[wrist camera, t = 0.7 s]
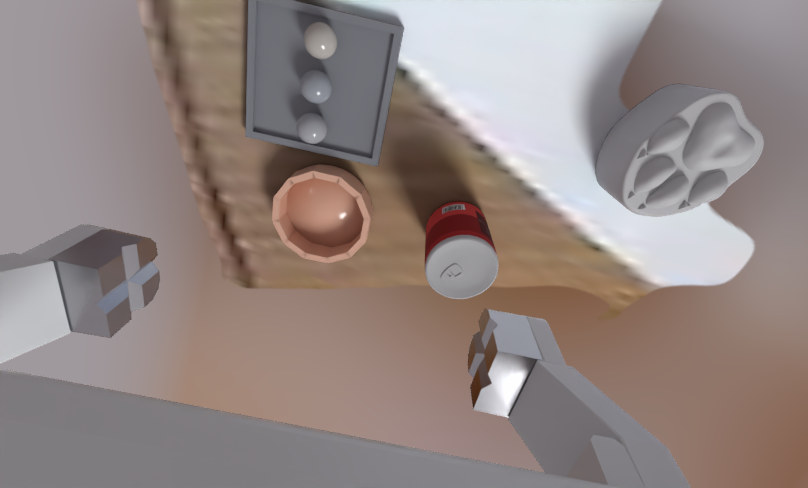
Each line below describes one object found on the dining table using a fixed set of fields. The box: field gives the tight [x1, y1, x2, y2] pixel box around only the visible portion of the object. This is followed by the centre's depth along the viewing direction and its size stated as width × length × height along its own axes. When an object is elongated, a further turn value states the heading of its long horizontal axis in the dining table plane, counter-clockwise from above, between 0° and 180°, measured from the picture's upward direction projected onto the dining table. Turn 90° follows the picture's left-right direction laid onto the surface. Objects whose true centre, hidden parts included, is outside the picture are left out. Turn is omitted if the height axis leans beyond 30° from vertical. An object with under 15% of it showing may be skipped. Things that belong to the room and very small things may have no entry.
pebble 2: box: [300, 70, 332, 104], centre depth 42 cm, size 3×3×3 cm
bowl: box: [272, 164, 374, 263], centre depth 49 cm, size 12×12×4 cm
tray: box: [246, 0, 404, 166], centre depth 43 cm, size 15×16×1 cm
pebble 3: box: [296, 113, 327, 144], centre depth 44 cm, size 3×3×3 cm
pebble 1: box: [304, 22, 337, 59], centre depth 40 cm, size 3×3×3 cm
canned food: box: [425, 201, 498, 299], centre depth 46 cm, size 8×8×11 cm
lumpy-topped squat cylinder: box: [596, 84, 764, 217], centre depth 41 cm, size 10×13×9 cm
